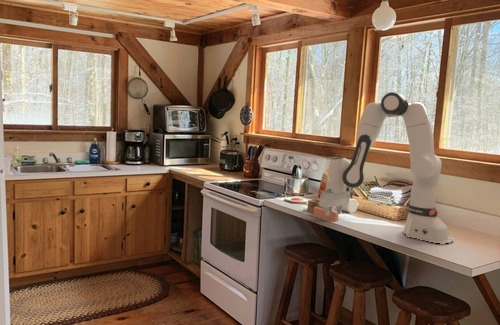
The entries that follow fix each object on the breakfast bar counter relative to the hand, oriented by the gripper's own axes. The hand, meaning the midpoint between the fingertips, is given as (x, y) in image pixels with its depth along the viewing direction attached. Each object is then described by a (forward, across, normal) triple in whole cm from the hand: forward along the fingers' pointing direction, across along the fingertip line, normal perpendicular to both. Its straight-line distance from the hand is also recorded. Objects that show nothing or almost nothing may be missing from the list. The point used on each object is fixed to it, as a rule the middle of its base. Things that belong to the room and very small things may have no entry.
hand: (333, 214), depth 230 cm
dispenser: (+3, +7, +15) cm, 17 cm away
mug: (+3, +26, +10) cm, 28 cm away
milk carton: (+3, +38, +36) cm, 53 cm away
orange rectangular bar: (+3, 0, +5) cm, 6 cm away
